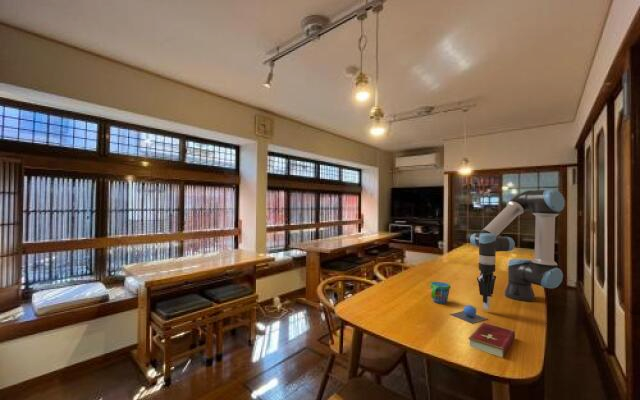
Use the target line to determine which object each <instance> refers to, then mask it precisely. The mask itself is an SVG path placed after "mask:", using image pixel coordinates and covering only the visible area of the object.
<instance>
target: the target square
mask: <svg viewBox="0 0 640 400" xmlns="http://www.w3.org/2000/svg"><path fill="white" fill-rule="evenodd" d="M449 315H450V316H452V317H455V318H458V319H460V320H462V321H464V322H467V323H468V324H469V323H470V324H472V325H473V324H476V323H477V324H478V323H480V322H484V321H487V320H489V318H487V317H484V316H481V315H479V314H476V315H475V316H473V317H468V316H467V315H466V314H465V313H464V310H462V311H457V312H454V313H451V314H449Z"/></svg>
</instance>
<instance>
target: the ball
mask: <svg viewBox="0 0 640 400" xmlns="http://www.w3.org/2000/svg"><path fill="white" fill-rule="evenodd" d="M463 311H464V313H465V314H466V315H467V316H468V317H473V316H475V315H477V310H476V307H474V306H473V305H470V304H469V305H468V304H467V305H465V306H464V308H463Z"/></svg>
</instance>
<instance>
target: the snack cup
mask: <svg viewBox="0 0 640 400" xmlns="http://www.w3.org/2000/svg"><path fill="white" fill-rule="evenodd" d="M429 286H430V289H431V295H430V296H431V299H432V301H433V302H434V303H436V304H441V305H442V304H447V303H448V300H449V299H448V298H449V294H450V289H451V284H449V283H447V282H442V281H431V282H430V283H429Z"/></svg>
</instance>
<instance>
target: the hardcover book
mask: <svg viewBox="0 0 640 400" xmlns="http://www.w3.org/2000/svg"><path fill="white" fill-rule="evenodd" d="M515 337H516V332H515V330H513V329H509V328H505V327H502V326H499V325H495V324H491V323H488V322H484V321H482V323H481V324H480V325H479V326H478V327H477V328H476V329H475V330H474V331H473V332H472V333H471V334H470V335H469V336H468V340H469V347H470V348H474V349H475V350H479V351H482V352H485V353H488V354H491V355H494V356H497V357H501V358H502V359H504V358H505V356H506V354H507V352H508V350H509V349H510V348H511V346H512V344H513V342H514V341H515ZM513 340H514V341H513Z"/></svg>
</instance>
